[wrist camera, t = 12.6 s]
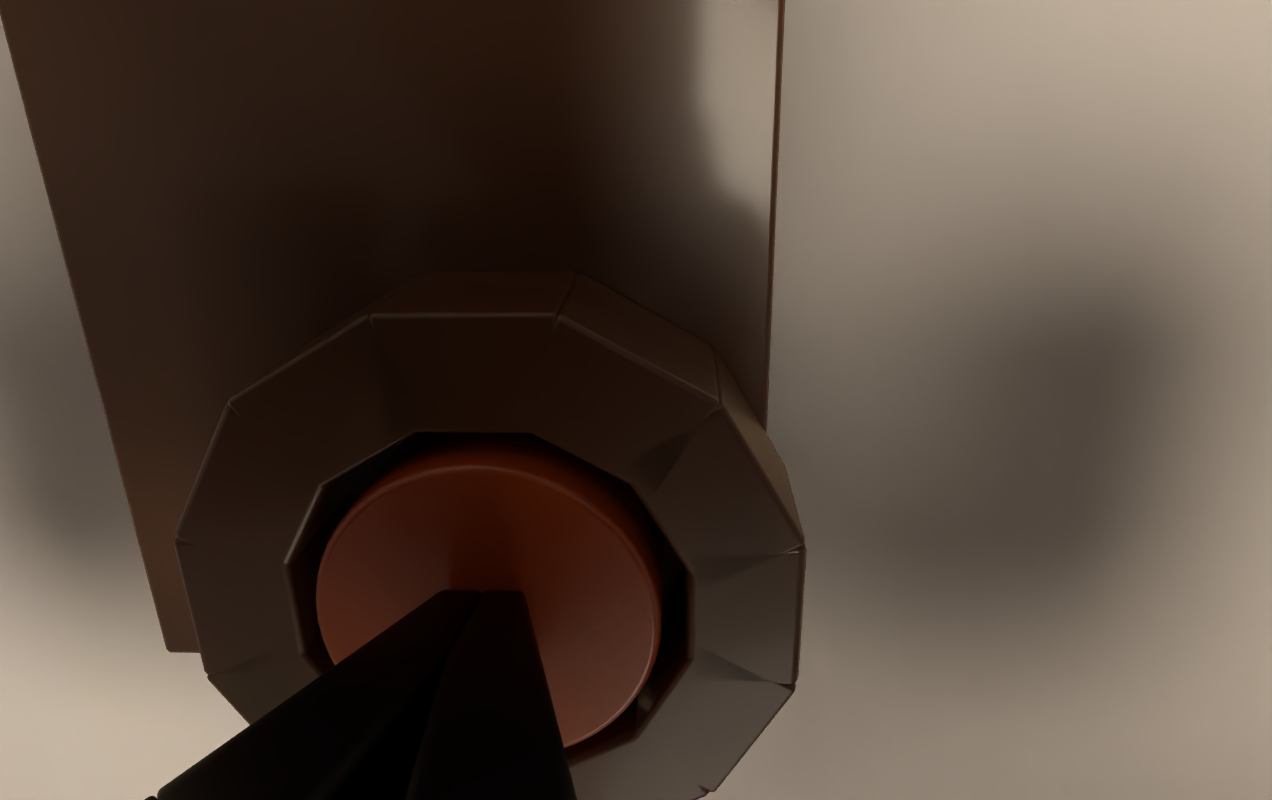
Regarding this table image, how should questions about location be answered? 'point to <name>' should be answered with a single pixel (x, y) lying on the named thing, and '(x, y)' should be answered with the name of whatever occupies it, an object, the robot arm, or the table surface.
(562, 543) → the button
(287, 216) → the button block
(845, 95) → the table surface
